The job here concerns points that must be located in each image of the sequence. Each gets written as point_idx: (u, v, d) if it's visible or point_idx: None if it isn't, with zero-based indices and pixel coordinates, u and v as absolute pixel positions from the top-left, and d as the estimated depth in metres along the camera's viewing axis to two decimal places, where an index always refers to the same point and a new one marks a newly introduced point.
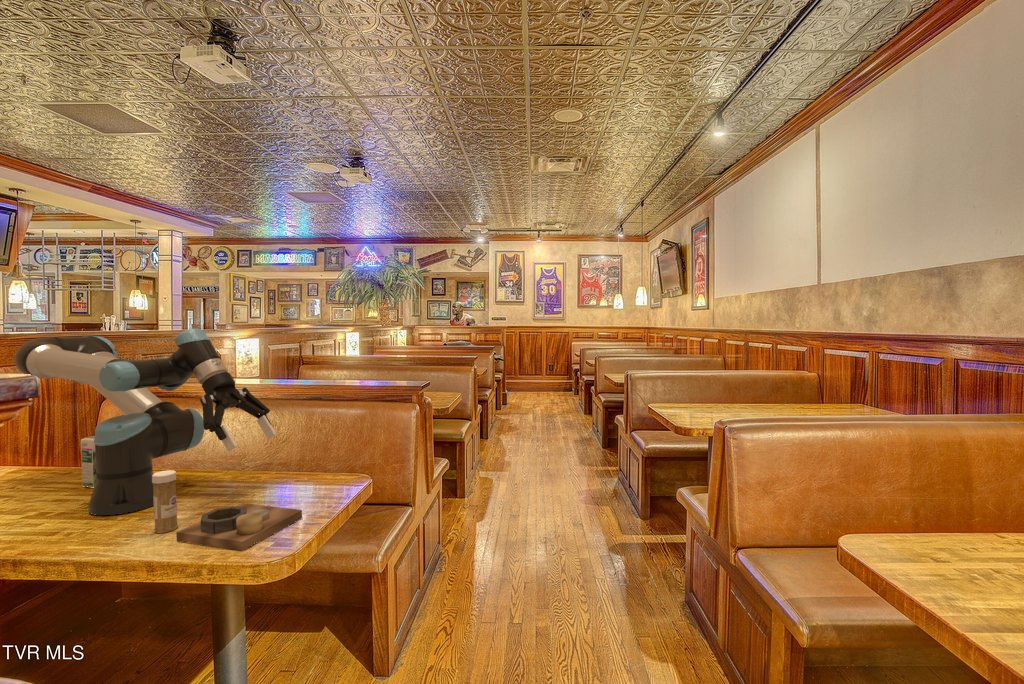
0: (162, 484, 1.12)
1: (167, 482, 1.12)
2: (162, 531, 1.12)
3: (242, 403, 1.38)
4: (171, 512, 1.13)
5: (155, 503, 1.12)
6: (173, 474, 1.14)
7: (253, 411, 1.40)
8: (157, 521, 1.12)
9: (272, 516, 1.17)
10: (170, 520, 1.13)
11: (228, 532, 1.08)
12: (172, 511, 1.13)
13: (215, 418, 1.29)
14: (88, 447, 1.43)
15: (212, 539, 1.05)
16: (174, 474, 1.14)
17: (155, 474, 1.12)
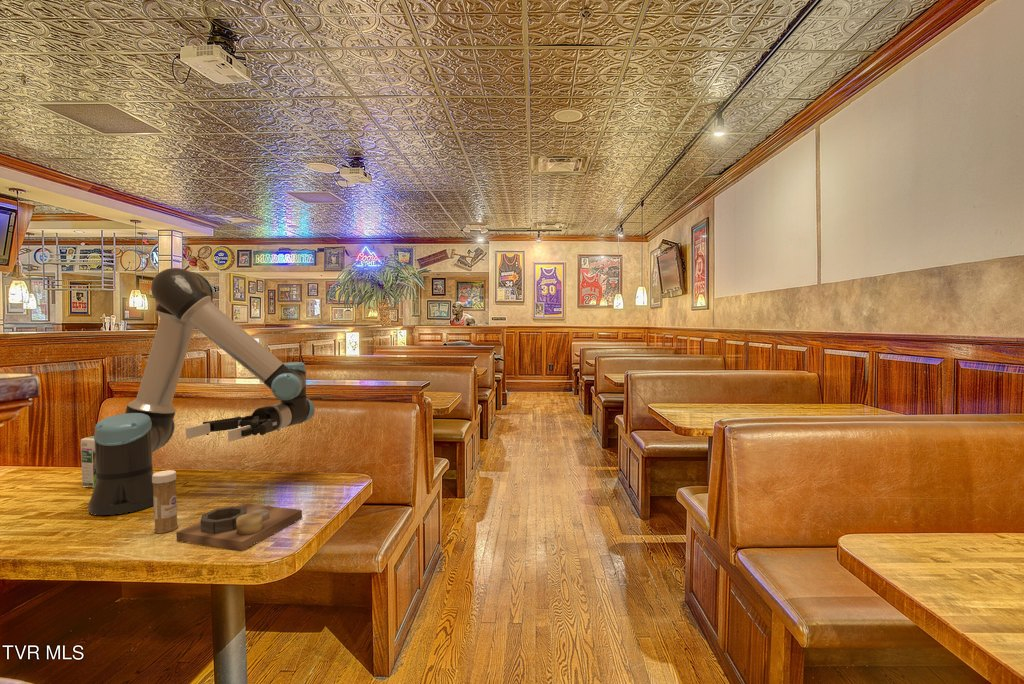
0: (162, 484, 1.12)
1: (167, 482, 1.12)
2: (162, 531, 1.12)
3: (236, 427, 1.37)
4: (171, 512, 1.13)
5: (155, 503, 1.12)
6: (173, 474, 1.14)
7: (220, 427, 1.35)
8: (157, 521, 1.12)
9: (272, 516, 1.17)
10: (170, 520, 1.13)
11: (228, 532, 1.08)
12: (172, 511, 1.13)
13: None
14: (88, 447, 1.43)
15: (212, 539, 1.05)
16: (174, 474, 1.14)
17: (155, 474, 1.12)
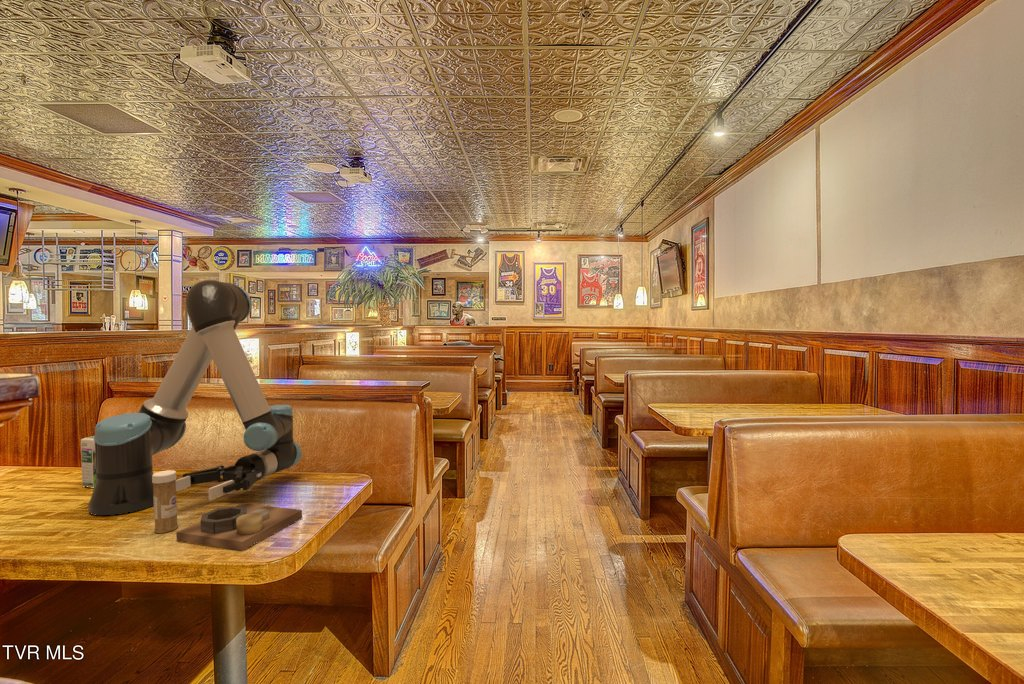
0: (162, 484, 1.12)
1: (167, 482, 1.12)
2: (162, 531, 1.12)
3: (218, 478, 1.30)
4: (171, 512, 1.13)
5: (155, 503, 1.12)
6: (174, 474, 1.14)
7: (201, 479, 1.28)
8: (157, 521, 1.12)
9: (272, 516, 1.17)
10: (170, 520, 1.13)
11: (228, 532, 1.08)
12: (172, 511, 1.13)
13: None
14: (88, 447, 1.43)
15: (212, 539, 1.05)
16: (174, 474, 1.14)
17: (155, 474, 1.12)
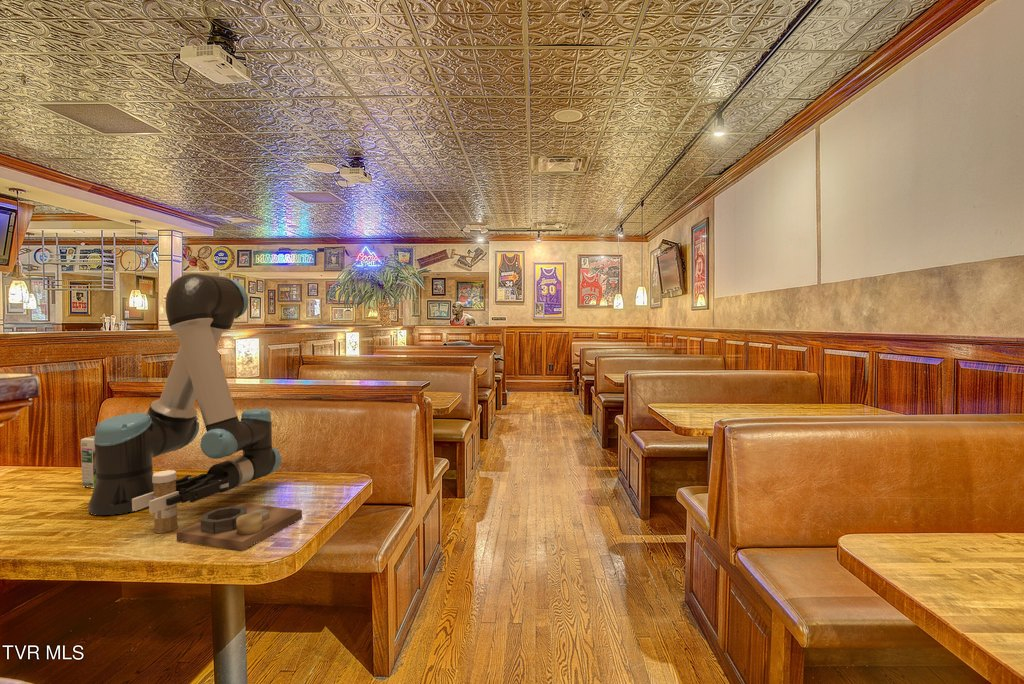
0: (162, 484, 1.12)
1: (167, 482, 1.12)
2: (162, 531, 1.12)
3: None
4: (171, 512, 1.13)
5: None
6: (174, 474, 1.14)
7: None
8: (157, 521, 1.12)
9: (272, 516, 1.17)
10: (170, 520, 1.13)
11: (228, 532, 1.08)
12: (172, 511, 1.13)
13: None
14: (88, 447, 1.43)
15: (212, 539, 1.05)
16: (174, 474, 1.14)
17: (155, 474, 1.12)
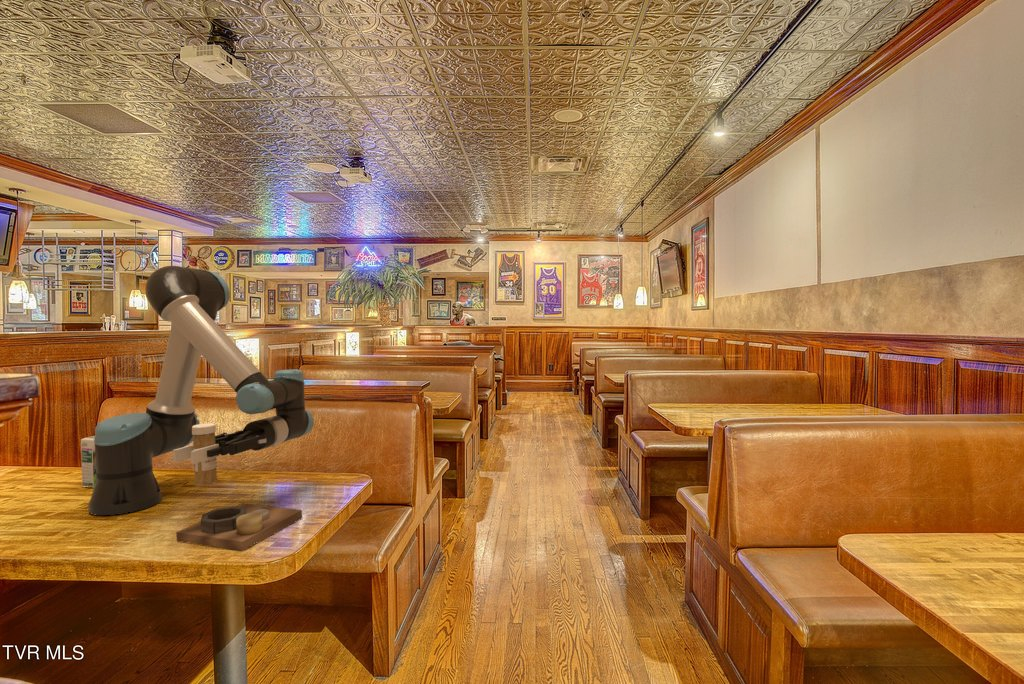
0: (202, 435, 1.10)
1: (207, 434, 1.10)
2: (203, 483, 1.10)
3: None
4: (212, 464, 1.11)
5: None
6: (213, 426, 1.12)
7: None
8: (198, 474, 1.10)
9: (272, 516, 1.17)
10: (211, 472, 1.11)
11: (228, 532, 1.08)
12: (212, 463, 1.11)
13: None
14: (88, 447, 1.43)
15: (212, 539, 1.05)
16: (214, 426, 1.12)
17: (195, 426, 1.11)
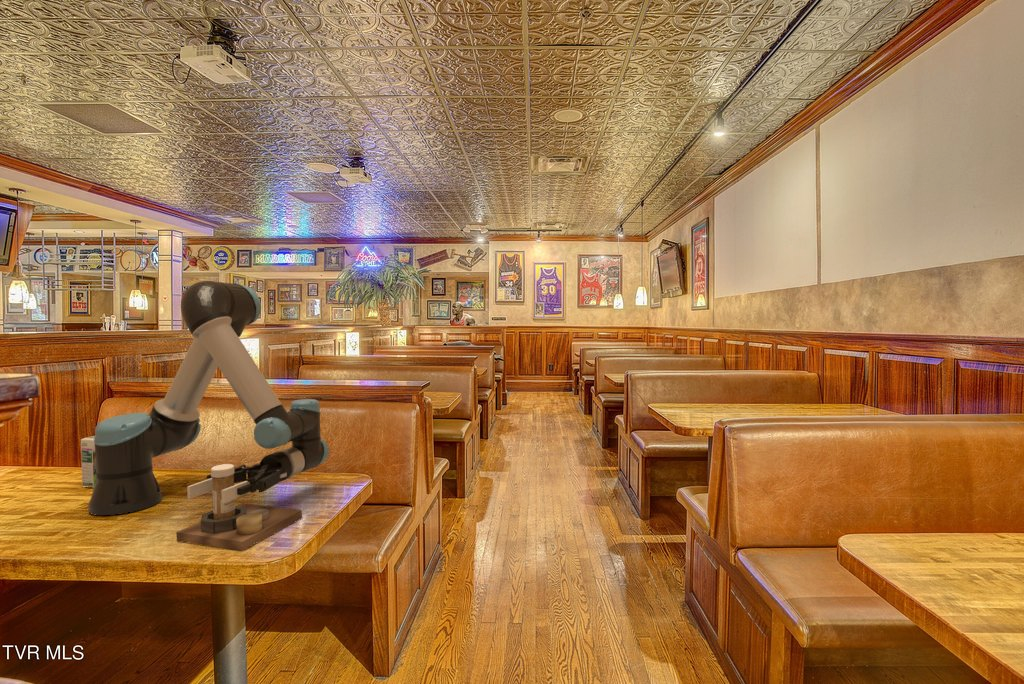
0: (221, 478, 1.09)
1: (226, 476, 1.10)
2: None
3: (244, 478, 1.20)
4: (230, 506, 1.11)
5: (214, 497, 1.09)
6: (232, 468, 1.11)
7: None
8: (217, 516, 1.10)
9: (272, 516, 1.17)
10: (229, 514, 1.11)
11: (228, 532, 1.08)
12: (231, 505, 1.11)
13: None
14: (88, 447, 1.43)
15: (212, 539, 1.05)
16: (233, 468, 1.11)
17: (214, 468, 1.10)
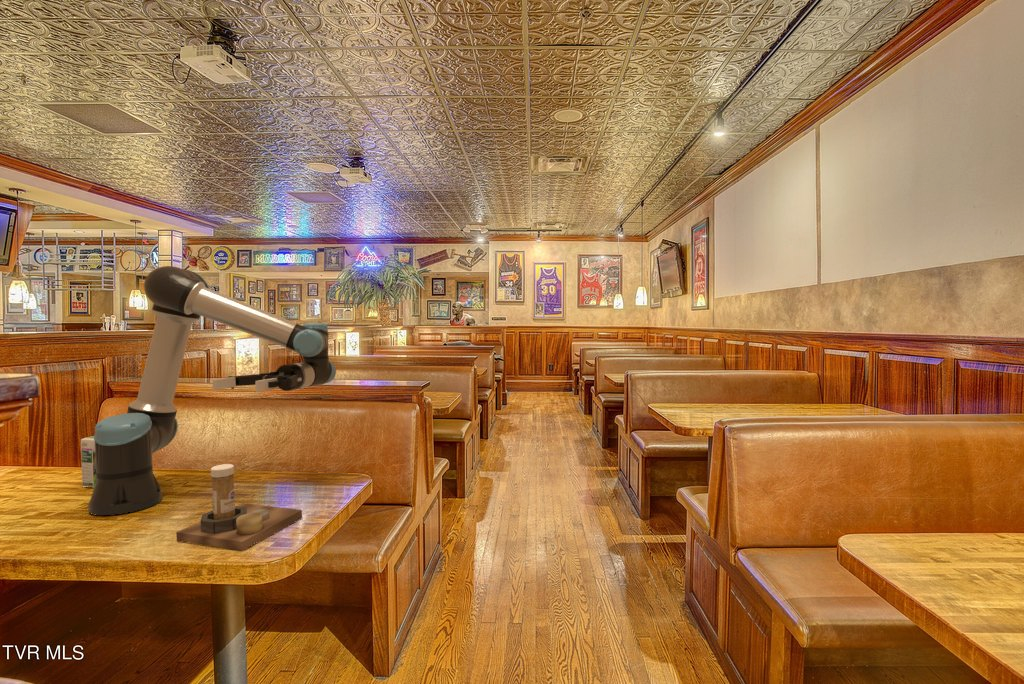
0: (221, 478, 1.09)
1: (226, 476, 1.10)
2: None
3: None
4: (230, 506, 1.11)
5: (214, 497, 1.09)
6: (232, 467, 1.11)
7: (245, 381, 1.34)
8: (217, 516, 1.10)
9: (272, 516, 1.17)
10: (229, 514, 1.11)
11: (228, 532, 1.08)
12: (231, 505, 1.11)
13: None
14: (88, 447, 1.43)
15: (212, 539, 1.05)
16: (232, 468, 1.11)
17: (214, 468, 1.10)
